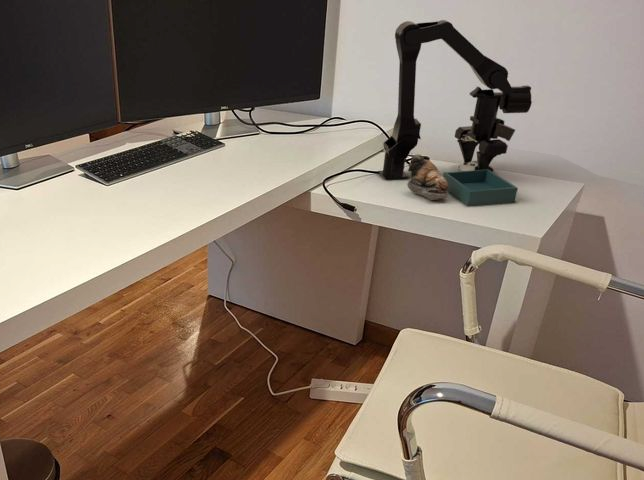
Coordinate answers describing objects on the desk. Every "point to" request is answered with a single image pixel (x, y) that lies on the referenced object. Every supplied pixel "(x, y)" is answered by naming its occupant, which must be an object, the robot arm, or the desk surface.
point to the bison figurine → (426, 179)
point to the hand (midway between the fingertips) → (474, 170)
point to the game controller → (472, 166)
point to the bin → (480, 187)
